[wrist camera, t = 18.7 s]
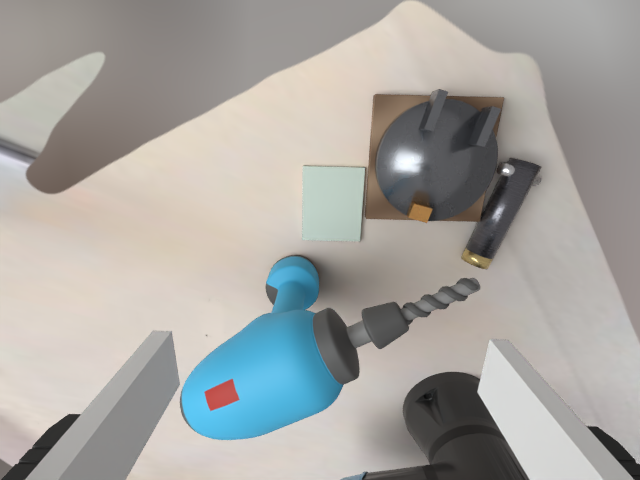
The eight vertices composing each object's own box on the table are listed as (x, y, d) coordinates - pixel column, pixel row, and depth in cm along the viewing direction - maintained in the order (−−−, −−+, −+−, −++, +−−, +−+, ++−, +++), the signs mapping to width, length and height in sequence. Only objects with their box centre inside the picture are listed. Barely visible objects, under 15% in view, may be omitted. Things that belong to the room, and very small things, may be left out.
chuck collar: (460, 228, 41) (475, 239, 37) (359, 200, 40) (364, 207, 36) (509, 120, 37) (531, 118, 33) (397, 85, 36) (407, 78, 32)
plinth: (474, 218, 43) (479, 221, 41) (364, 215, 43) (366, 218, 41) (497, 98, 38) (504, 97, 36) (373, 95, 38) (375, 94, 36)
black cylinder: (481, 260, 45) (530, 166, 41) (500, 272, 42) (555, 171, 38) (449, 253, 43) (496, 153, 39) (466, 265, 40) (519, 158, 36)
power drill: (399, 191, 41) (487, 257, 19) (424, 245, 44) (526, 358, 22) (224, 280, 46) (134, 415, 24) (255, 324, 48) (199, 484, 26)
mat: (359, 240, 44) (360, 241, 43) (302, 238, 44) (302, 240, 43) (364, 167, 40) (365, 167, 40) (303, 165, 40) (302, 166, 40)
